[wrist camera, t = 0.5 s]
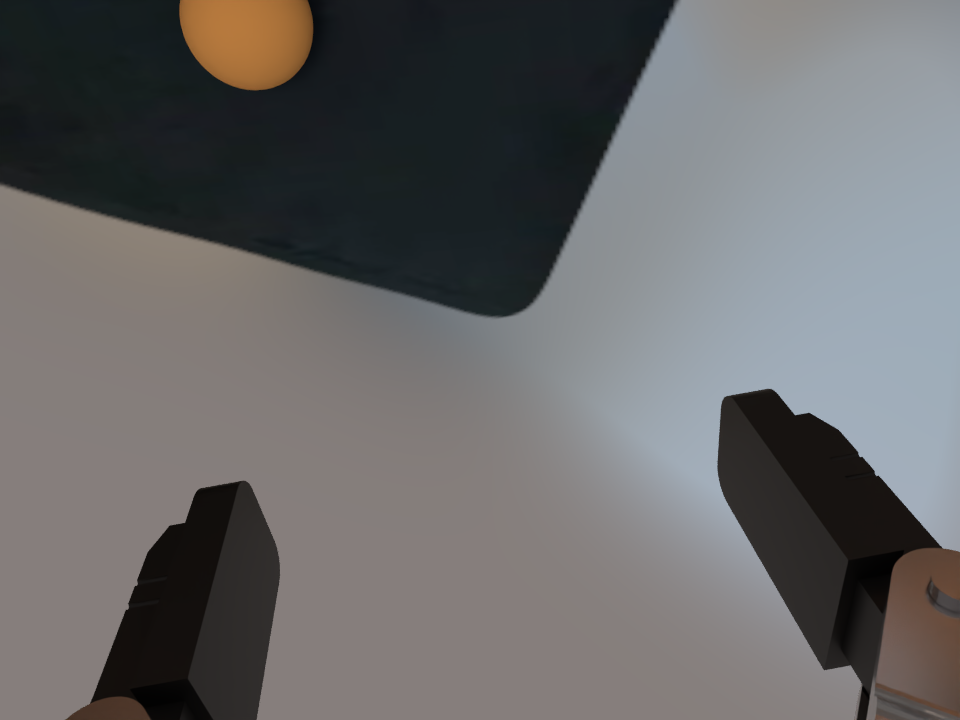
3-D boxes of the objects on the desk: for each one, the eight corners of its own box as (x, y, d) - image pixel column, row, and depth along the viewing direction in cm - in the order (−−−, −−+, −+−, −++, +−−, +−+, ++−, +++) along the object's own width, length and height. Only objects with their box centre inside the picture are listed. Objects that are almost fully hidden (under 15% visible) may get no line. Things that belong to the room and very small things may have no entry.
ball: (177, -46, 28) (142, -35, 24) (301, -64, 28) (286, -56, 24) (218, 83, 31) (192, 112, 27) (330, 66, 31) (321, 93, 27)
